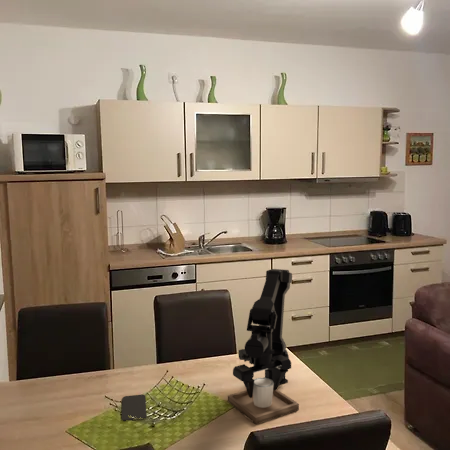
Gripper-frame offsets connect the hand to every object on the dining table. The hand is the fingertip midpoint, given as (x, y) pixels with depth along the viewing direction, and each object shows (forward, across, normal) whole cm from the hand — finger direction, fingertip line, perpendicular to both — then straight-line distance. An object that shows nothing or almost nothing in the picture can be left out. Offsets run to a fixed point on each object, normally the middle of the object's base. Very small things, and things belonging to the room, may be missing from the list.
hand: (262, 393), depth 149 cm
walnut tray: (+4, 0, 0) cm, 4 cm away
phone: (+4, +35, -20) cm, 41 cm away
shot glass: (+3, 0, 0) cm, 3 cm away
